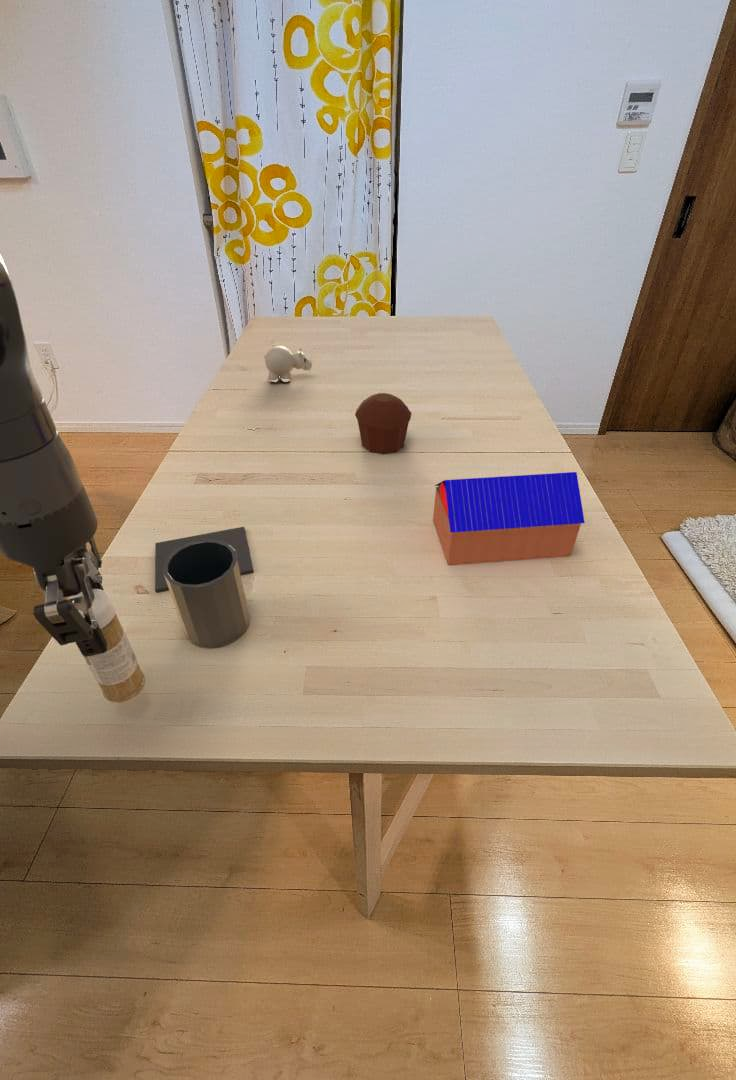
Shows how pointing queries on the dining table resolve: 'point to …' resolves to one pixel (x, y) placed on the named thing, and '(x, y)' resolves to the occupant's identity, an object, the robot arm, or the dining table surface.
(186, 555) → the cup
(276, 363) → the chubby cartoon animal
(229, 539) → the mat
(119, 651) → the sprinkles bottle
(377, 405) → the muffin
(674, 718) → the dining table surface
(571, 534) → the house
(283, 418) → the dining table surface
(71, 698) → the dining table surface
